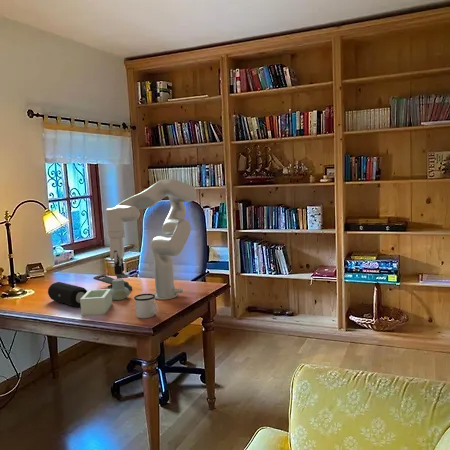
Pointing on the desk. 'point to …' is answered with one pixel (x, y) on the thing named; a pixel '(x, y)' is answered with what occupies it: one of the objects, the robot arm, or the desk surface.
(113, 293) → the air freshener
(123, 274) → the steel bracket
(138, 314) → the mug
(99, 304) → the well box
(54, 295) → the portable speaker
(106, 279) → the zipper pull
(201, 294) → the desk surface
